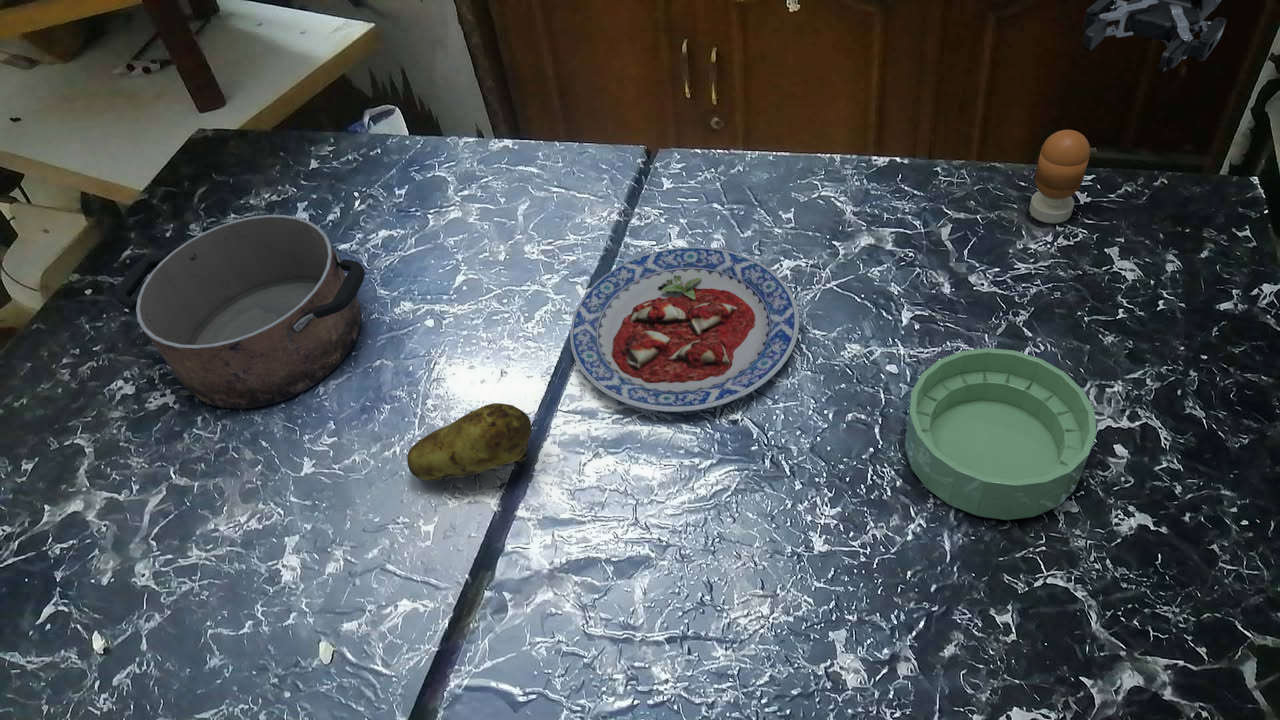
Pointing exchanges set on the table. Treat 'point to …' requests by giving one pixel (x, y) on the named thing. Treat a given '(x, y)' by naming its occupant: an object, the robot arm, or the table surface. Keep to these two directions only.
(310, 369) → the cooking pot
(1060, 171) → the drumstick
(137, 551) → the table surface
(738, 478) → the table surface
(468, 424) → the potato
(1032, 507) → the green round shallow dish
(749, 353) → the ceramic plate
